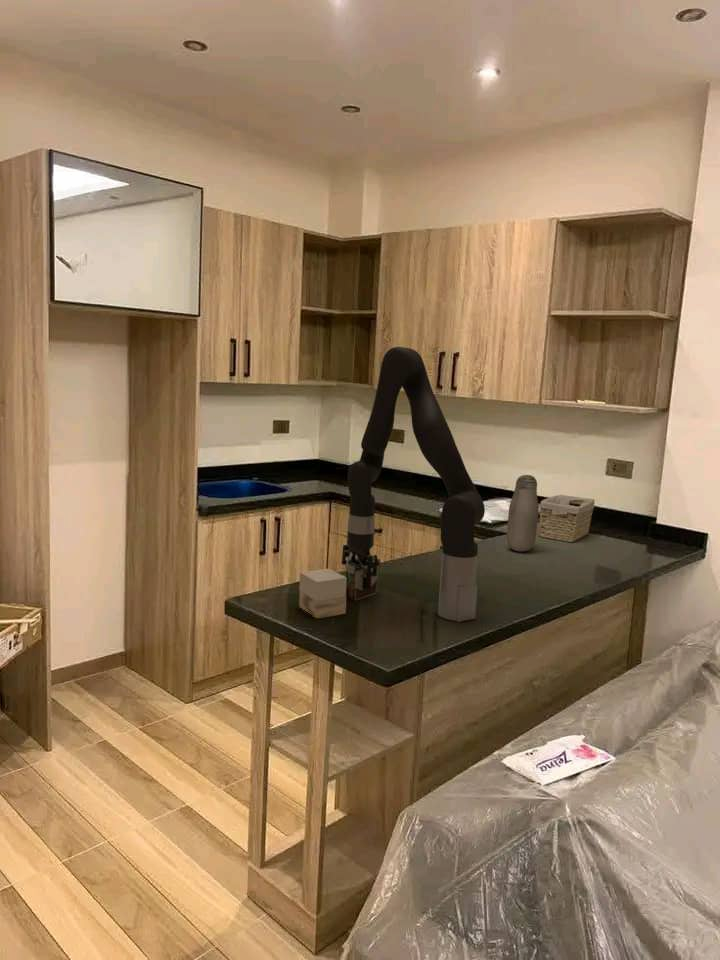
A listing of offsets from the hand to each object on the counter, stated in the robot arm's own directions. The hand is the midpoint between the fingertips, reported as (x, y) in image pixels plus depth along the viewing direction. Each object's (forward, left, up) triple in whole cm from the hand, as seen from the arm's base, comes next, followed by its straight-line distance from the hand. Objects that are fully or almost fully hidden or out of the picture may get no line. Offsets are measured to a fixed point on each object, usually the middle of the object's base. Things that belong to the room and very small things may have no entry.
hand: (357, 585), depth 209 cm
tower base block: (-7, +16, -3) cm, 18 cm away
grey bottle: (+15, -82, -3) cm, 83 cm away
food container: (0, 0, -3) cm, 3 cm away
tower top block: (-7, +16, +2) cm, 18 cm away
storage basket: (+25, -118, -3) cm, 120 cm away
